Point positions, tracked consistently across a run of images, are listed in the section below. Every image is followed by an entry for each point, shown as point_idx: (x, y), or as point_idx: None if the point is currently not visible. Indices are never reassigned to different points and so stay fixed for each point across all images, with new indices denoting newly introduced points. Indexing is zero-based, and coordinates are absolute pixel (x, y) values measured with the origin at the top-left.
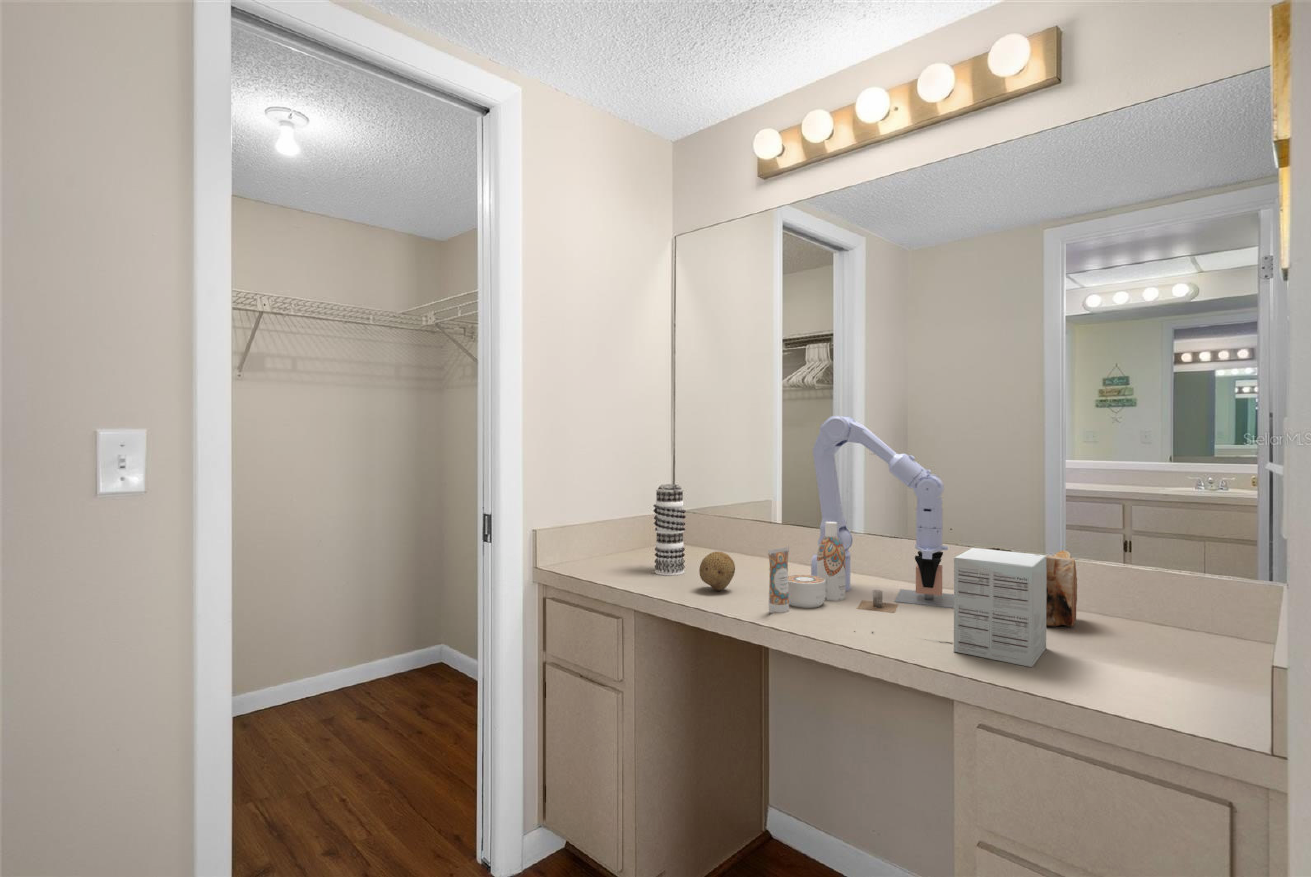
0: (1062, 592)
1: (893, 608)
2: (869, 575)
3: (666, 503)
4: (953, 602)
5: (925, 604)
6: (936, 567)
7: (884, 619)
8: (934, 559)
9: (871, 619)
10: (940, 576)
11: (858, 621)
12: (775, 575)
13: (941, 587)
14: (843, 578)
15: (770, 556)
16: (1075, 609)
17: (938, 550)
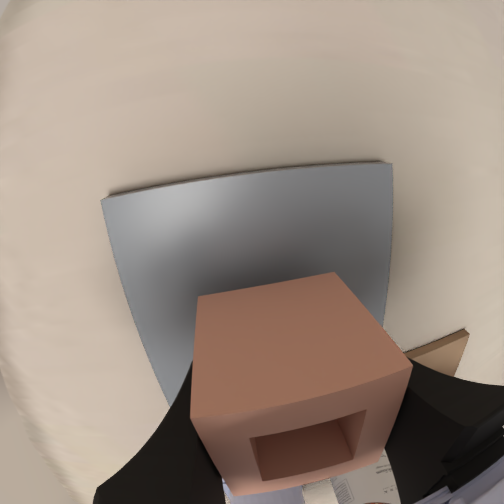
0: None
1: (436, 354)
2: (52, 458)
3: None
4: (300, 208)
5: (385, 302)
6: (466, 384)
7: (480, 333)
8: (493, 431)
9: (480, 350)
10: (385, 339)
11: (488, 358)
12: None
13: (351, 294)
14: (392, 485)
15: None
16: None
17: (495, 497)
